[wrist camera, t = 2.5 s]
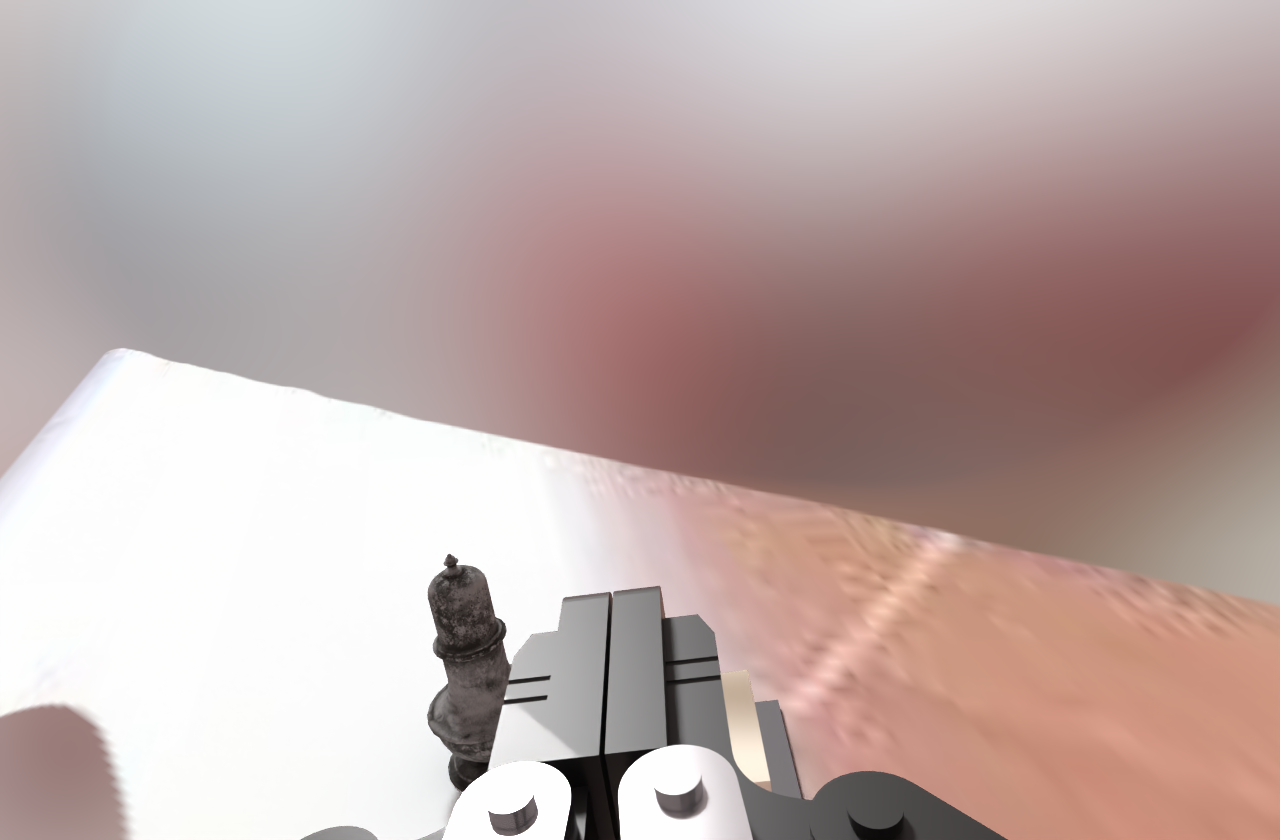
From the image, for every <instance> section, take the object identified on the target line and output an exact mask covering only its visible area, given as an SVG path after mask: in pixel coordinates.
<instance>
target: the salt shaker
mask: <svg viewBox="0 0 1280 840" xmlns="http://www.w3.org/2000/svg"><path fill="white" fill-rule="evenodd" d="M457 562H458V559H457V558H455V557H454V556H452V555H451V554H448V555H447V557H446V559H445V562H444V565H445V566H447V568H446V569H445V570H444V571H442V572H441V573H439V574H438V575H437V576H436V577H435V578H434V579H433V580H432V581H431V583H430V586H429V588H428V600H429V603H430V607H431V611H432V615H433V619H434V622H435V626H436V630H437V634H438V636H437V637H436V639H435V640H434V643H433V651H434V653H435V654H436V656H437V657H439V658H441V659H443V662H444V666H445V670H446V674H447V677H448V684H447V685H446V686H445V687H444V688H443V689H442V690H441V691H440V692H439V693H438V694H437V695H436V697H435V698H434V700H433V701H432V703H431V704H430V707H429V711H428V714H427V716H428V725H429V727H430V728H431V730H432V731H433V733H434V734H435V735H436V736H438V737H439V738H440V739H441V741H442V742H443V744H444V745H445V746H446V747H447V748H448V749H449V750H450V751H451V752H452V753H453V754H452V756H451V758H450V762H449V766H448V769H449V776H450V779H451V780H452V782H453V784H454V785H455V786H456V787H457V788H458V789H460V790H461V791H463V792H465V791H466V789H467V788H468V787H469V786H470V785H471V784H473V783H474V782H475V781H476V780H477V779H479V778H480V777H482V776H483V775H485V774H487V770H488V766H489V762H490V758H491V753H492V749H493V745H494V740H495V736H496V732H497V728H498V723H499V719H500V715H501V710H502V706H503V705H504V698H505V693H506V689H507V685H509V676H510V672H511V668H512V664H509V663H508V661H507V658H506V653H505V649H504V645H503V641H502V640H503V639H504V637H505V635H506V626H505V623H504V622H503V621H502V620H501V619H498V618H496V617H495V614H494V609H493V605H492V601H491V597H490V593H489V588H488V584H487V580H486V577H485V575H484V574H483V573H482V572H481V571H480V570H479V569H477V568H475V567H473V566H466V565H456V563H457Z"/></svg>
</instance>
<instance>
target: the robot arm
mask: <svg viewBox="0 0 1280 840" xmlns="http://www.w3.org/2000/svg"><path fill="white" fill-rule="evenodd" d="M301 840H378V839H377V837H375V836H374V835H373V834H372V833H371V832H369V831H367V830H365V829H363V828H359V827H353V826H339V827H333V828H328V829H325V830H321V831H318V832H316V833H313V834H311V835H309V836H306V837H304V838H303V839H301ZM418 840H1007V839H1006V838H1004V837H1002V836H1001V835H999V834H997V833H996V832H994V831H992V830H991V829H989V828H987V827H986V826H984V825H982V824H981V823H979V822H977V821H976V820H974V819H972V818H971V817H969V816H967V815H966V814H964V813H962V812H961V811H959V810H957V809H956V808H954V807H952V806H951V805H949V804H947V803H946V802H944V801H942V800H941V799H939V798H937V797H936V796H934V795H932V794H931V793H929V792H928V791H926V790H924V789H923V788H921V787H919V786H918V785H916V784H914V783H912V782H910V781H908V780H906V779H904V778H901V777H899V776H896V775H893V774H888V773H884V772H875V771H860V772H854V773H849V774H845V775H842V776H840V777H837V778H835V779H833V780H831V781H830V782H828V783H827V784H825V785H824V786H823V787H822V788H821V789H820V790H819V791H818V792H817V794H816V795H815V797H814V798H813V800H806V799H799V798H793V797H788V796H783V795H779V794H776V793H773V792H770V791H768V790H766V789H764V788H762V787H760V786H758V785H757V784H755V783H754V782H752V781H751V780H750V779H748V778H747V777H746V776H745V775H744V774H743V773H742V771H741V770H740V769H739V767H738V766H737V764H736V762H735V760H734V756H733V752H732V747H731V740H730V733H729V727H728V720H727V713H726V707H725V700H724V693H723V687H722V680H721V673H720V667H719V660H718V654H717V647H716V640H715V634H714V632H713V631H712V630H711V628H710V627H709V626H708V625H707V624H706V623H705V622H704V621H703V620H702V619H701V618H700V616H699V615H698V614H697V615H688V616H680V617H672V618H665V612H664V606H663V599H662V593H661V588H660V586H655V587H647V588H638V589H630V590H622V591H614V593H613V598H612V594H611V592H606V593H598V594H590V595H581V596H573V597H565V598H564V599H563V602H562V608H561V614H560V621H559V627H558V631H555V632H546V633H538V634H532V635H531V636H530V638H529V639H528V640H527V641H526V643H525V644H524V645H523V646H522V647H521V649H520V650H519V651H518V652H517V653H516V655H515V656H514V659H513V663H512V668H511V672H510V676H509V685H507V689H506V693H505V698H504V705H503V706H502V710H501V715H500V719H499V723H498V728H497V732H496V736H495V740H494V745H493V749H492V753H491V758H490V762H489V766H488V770H487V774H485V775H483V776H482V777H480V778H479V779H477V780H476V781H475V782H474V783H473V784H471V785H470V786H469V787H468V788H467V789H466V791H465V792H464V793H463V794H462V796H461V797H460V798H459V800H458V802H457V804H456V806H455V808H454V811H453V814H452V816H451V819H450V822H449V825H447V826H446V827H444V828H442V829H440V830H439V831H437V832H435V833H433V834H430V835H428V836H426V837H423V838H420V839H418Z"/></svg>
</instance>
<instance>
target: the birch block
mask: <svg viewBox="0 0 1280 840" xmlns="http://www.w3.org/2000/svg"><path fill="white" fill-rule="evenodd" d="M721 680H722V687H723V693H724V700H725V707H726V713H727V720H728V727H729V733H730V740H731V747H732V752H733V756H734V760H735V762H736V764H737V766H738V767H739V769H740V770H741V771H742V773H743V774H744V775H745V776H746V777H747V778H748V779H750V780H751V781H752V782H754V783H755V784H757V785H758V786H760V787H762V788H764V789H766V790H768V791H770V792H771V783H770V777H769V772H768V767H767V762H766V757H765V752H764V747H763V742H762V737H761V732H760V727H759V722H758V717H757V712H756V707H755V702H754V698H753V693H752V688H751V683H750V678H749V673H748V670H742V671H734V672H725V673H721Z"/></svg>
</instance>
